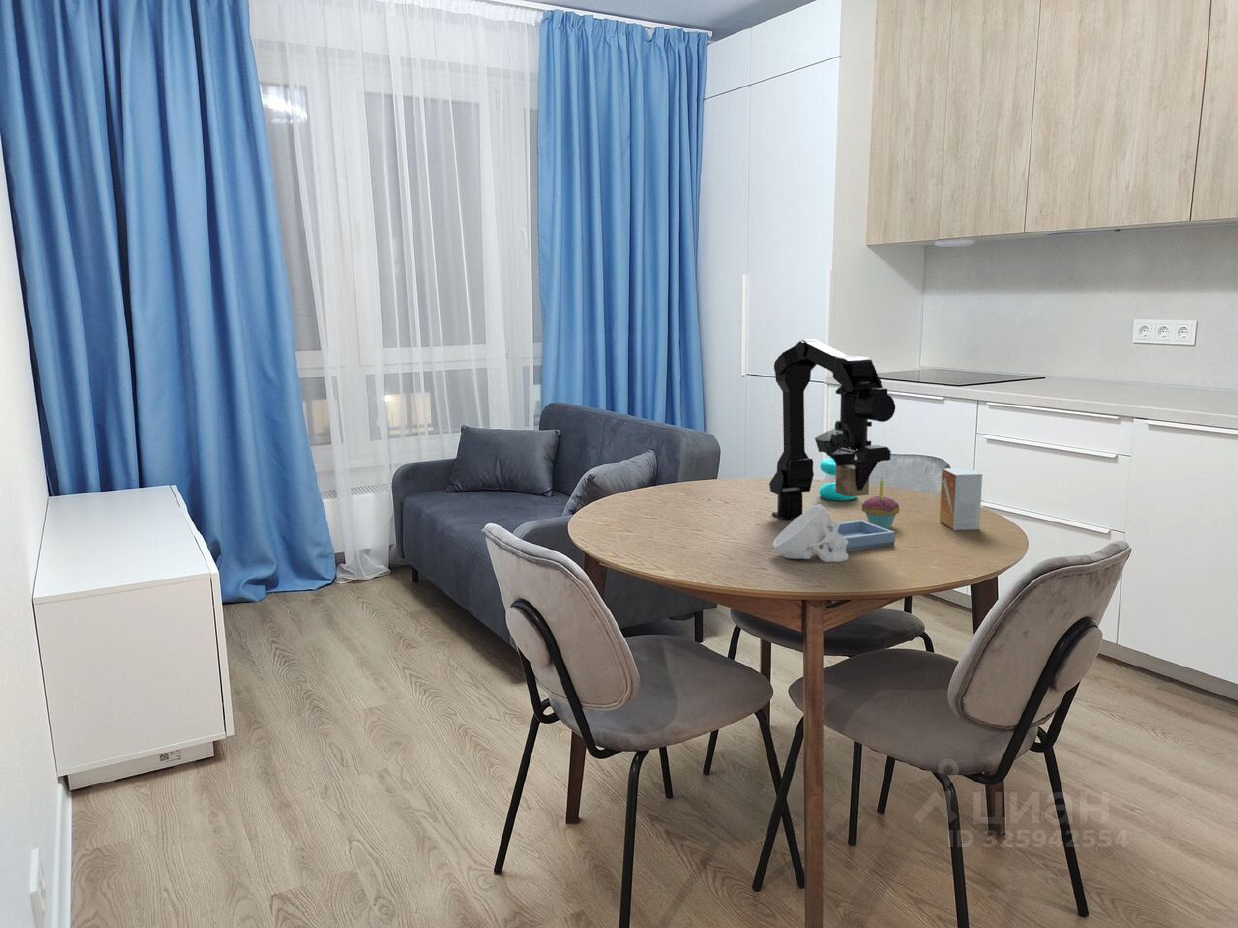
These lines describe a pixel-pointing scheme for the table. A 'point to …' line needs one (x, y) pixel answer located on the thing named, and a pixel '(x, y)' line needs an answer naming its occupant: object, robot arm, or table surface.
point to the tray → (865, 535)
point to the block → (848, 481)
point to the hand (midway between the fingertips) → (852, 488)
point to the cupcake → (880, 509)
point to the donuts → (830, 489)
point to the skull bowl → (812, 537)
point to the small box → (961, 498)
